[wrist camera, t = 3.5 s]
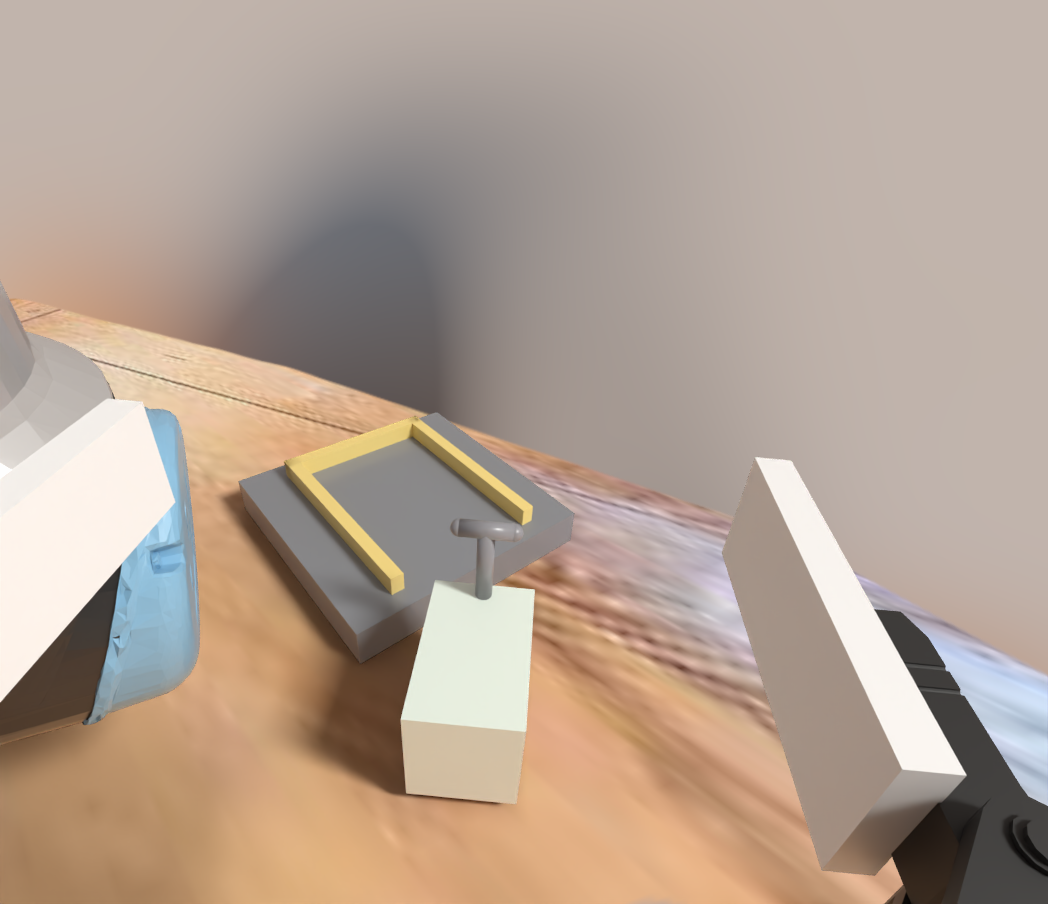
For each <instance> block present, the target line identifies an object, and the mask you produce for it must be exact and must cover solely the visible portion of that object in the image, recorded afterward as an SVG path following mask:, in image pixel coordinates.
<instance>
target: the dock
mask: <svg viewBox="0 0 1048 904" xmlns="http://www.w3.org/2000/svg"><path fill="white" fill-rule="evenodd" d="M284 463H285V465H284V466H281V467H278V468H275V469H272V470H270V471H267V472H264V473H261V474H258V475H255V476H252V477H250V478H247V479H244V480H241V481H238V482H239V486H240V490H241V494H242V498H243V502H244V506H245V509H246V511H247V512H248V513H249V515H250V516H251V517H252V519H253V520H254V521H255V523H256V524H257V525H258V527H259V528H260V529H261V531H262V532H263V534H264V535H265V536H266V538H267V539H268V540H269V542H270V543H271V544H272V546H273V547H274V548H275V550H276V551H277V552H278V554H279V555H280V556H281V558H282V559H283V560H284V562H285V563H286V565H287V566H288V567H289V569H290V570H291V571H292V573H293V574H294V575H295V577H296V578H297V579H298V581H299V582H300V583H301V585H302V586H303V587H304V589H305V590H306V591H307V593H308V594H309V596H310V597H311V598H312V600H313V601H314V602H315V604H316V605H317V606H318V608H319V609H320V610H321V612H322V613H323V614H324V616H325V617H326V618H327V620H328V621H329V622H330V624H331V625H332V627H333V628H334V629H335V631H336V632H337V633H338V635H339V636H340V637H341V639H342V640H343V641H344V643H345V644H346V645H347V647H348V648H349V649H350V651H351V652H352V653H353V655H354V656H355V658H356V659H357V660H358V662H359V663H360V664H361V663H363V662H365V661H366V660H368V659H370V658H371V657H373V656H375V655H377V654H378V653H380V652H382V651H383V650H385V649H387V648H388V647H390V646H392V645H393V644H395V643H397V642H399V641H400V640H402V639H404V638H405V637H407V636H409V635H410V634H412V633H414V632H415V631H417V630H419V629H421V628H422V627H424V623H425V619H426V615H427V611H428V607H429V603H430V599H431V595H432V591H433V587H434V583H435V580H440V581H450V582H461V583H471V584H475V583H476V557H477V539H476V538H466V537H457V536H454V535H453V534H452V533H451V530H450V525H451V523H452V521H453V520H455V519H458V518H462V519H472V520H483V521H493V522H504V523H514V524H518V525H520V526H521V527H522V529H523V537H522V539H521V540H519V541H517V542H507V541H497V540H495V554H494V570H493V585H495V584H497V583H498V582H500V581H502V580H503V579H505V578H507V577H509V576H510V575H512V574H514V573H515V572H517V571H519V570H520V569H522V568H524V567H525V566H527V565H529V564H531V563H532V562H534V561H536V560H537V559H539V558H541V557H542V556H544V555H546V554H547V553H549V552H551V551H553V550H554V549H556V548H558V547H559V546H561V545H563V544H564V543H566V542H568V541H569V540H570V538H571V532H572V526H573V519H574V513H573V512H572V511H570V510H569V509H568V508H566V507H565V506H564V505H562V504H561V503H560V502H558V501H557V500H555V499H554V498H553V497H551V496H550V495H549V494H547V493H546V492H545V491H543V490H542V489H540V488H539V487H538V486H536V485H535V484H534V483H532V482H531V481H530V480H528V479H527V478H526V477H524V476H523V475H521V474H520V473H519V472H517V471H516V470H515V469H513V468H512V467H511V466H509V465H508V464H506V463H505V462H504V461H502V460H501V459H500V458H498V457H497V456H496V455H494V454H493V453H491V452H490V451H489V450H487V449H486V448H485V447H483V446H482V445H481V444H479V443H478V442H477V441H475V440H474V439H472V438H471V437H470V436H468V435H467V434H466V433H464V432H463V431H462V430H460V429H459V428H457V427H456V426H455V425H453V424H452V423H451V422H449V421H448V420H447V419H445V418H444V417H442V416H441V415H440V414H438V413H437V412H436V413H433V414H430V415H427V416H424V417H422V418H418V417H416V416H414V417H411V418H408V419H405V420H402V421H399V422H396V423H393V424H390V425H388V426H385V427H382V428H379V429H376V430H373V431H370V432H367V433H364V434H361V435H359V436H356V437H353V438H350V439H347V440H344V441H341V442H338V443H335V444H332V445H330V446H327V447H324V448H321V449H318V450H315V451H312V452H309V453H306V454H303V455H300V456H298V457H295V458H292V459H289V460H286V461H284Z"/></svg>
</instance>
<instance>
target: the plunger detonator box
mask: <svg viewBox="0 0 1048 904" xmlns="http://www.w3.org/2000/svg"><path fill="white" fill-rule="evenodd" d="M450 530H451V533H452V534H453V535H454V536H457V537H466V538H476V539H477V557H476V583H475V584H471V583H461V582H450V581H440V580H435V583H434V587H433V591H432V595H431V599H430V603H429V607H428V611H427V615H426V619H425V623H424V627H423V631H422V635H421V639H420V643H419V647H418V651H417V655H416V659H415V663H414V667H413V671H412V675H411V680H410V684H409V688H408V692H407V696H406V700H405V704H404V708H403V712H402V716H401V732H402V745H403V758H404V771H405V785H406V793H408V794H419V795H429V796H439V797H449V798H459V799H469V800H479V801H489V802H499V803H509V804H516V803H517V796H518V789H519V781H520V774H521V766H522V759H523V751H524V744H525V737H526V726H527V709H528V692H529V676H530V659H531V642H532V626H533V609H534V592H535V590H533V589H523V588H512V587H502V586H493V570H494V554H495V540H497V541H507V542H517V541H519V540H521V539H522V537H523V529H522V527H521V526H520V525H518V524H514V523H504V522H493V521H483V520H472V519H462V518H458V519H455V520H453V521H452V523H451V525H450Z"/></svg>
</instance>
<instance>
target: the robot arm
mask: <svg viewBox="0 0 1048 904" xmlns="http://www.w3.org/2000/svg"><path fill="white" fill-rule="evenodd" d="M722 555H723V558H724V561H725V564H726V567H727V571H728V574H729V577H730V580H731V583H732V587H733V590H734V593H735V596H736V599H737V602H738V606H739V609H740V612H741V615H742V618H743V622H744V625H745V628H746V631H747V634H748V637H749V641H750V644H751V647H752V650H753V653H754V657H755V660H756V663H757V666H758V669H759V672H760V676H761V679H762V682H763V685H764V688H765V692H766V695H767V698H768V701H769V704H770V707H771V711H772V714H773V717H774V720H775V723H776V727H777V730H778V733H779V736H780V739H781V742H782V746H783V749H784V752H785V755H786V758H787V762H788V765H789V768H790V771H791V774H792V777H793V781H794V784H795V787H796V790H797V793H798V797H799V800H800V803H801V806H802V809H803V812H804V816H805V819H806V822H807V825H808V828H809V832H810V835H811V838H812V841H813V844H814V847H815V851H816V854H817V857H818V860H819V863H820V867H821V870H822V871H833V872H843V873H853V874H863V875H874V876H875V875H876V874H877V872H878V871H879V870H880V869H881V868H882V867H883V866H884V865H885V864H886V863H887V862H888V861H889V859H890V858H891V857H893V860H894V862H895V865H896V867H897V870H898V872H899V875H900V877H901V879H902V882H903V884H904V885H903V886H902V887H901V888H900V889H899V890H898V891H897V892H896V893H895V894H894V895H893V896H892V897H891V898H890V899H889V900H888V901H887V902H886V903H885V904H1048V806H1046V805H1044V804H1042V803H1040V802H1038V801H1036V800H1034V799H1032V798H1030V797H1028V795H1027V794H1026V793H1025V791H1024V790H1023V789H1022V787H1021V786H1020V784H1019V783H1018V781H1017V779H1016V778H1015V776H1014V775H1013V773H1012V771H1011V770H1010V768H1009V767H1008V765H1007V763H1006V762H1005V760H1004V759H1003V757H1002V755H1001V754H1000V752H999V751H998V749H997V747H996V746H995V744H994V742H993V741H992V739H991V738H990V736H989V734H988V733H987V731H986V730H985V728H984V726H983V725H982V723H981V722H980V720H979V718H978V717H977V715H976V714H975V712H974V710H973V709H972V707H971V706H970V704H969V702H968V701H967V699H966V698H965V696H962V695H961V694H960V688H959V686H958V685H957V683H956V682H955V680H954V678H953V677H952V675H951V673H950V672H948V671H946V670H945V667H946V665H945V664H944V662H943V661H942V659H941V657H940V656H939V654H938V653H937V651H936V649H935V648H934V646H933V645H932V643H931V641H930V640H929V638H928V637H927V636H926V635H925V634H924V633H923V632H922V631H921V630H920V629H919V628H917V627H916V626H915V625H914V624H913V623H912V622H911V621H910V620H909V619H908V618H907V617H906V616H905V615H904V614H902V613H901V612H897V611H887V610H876V609H874V608H873V607H872V605H871V603H870V601H869V599H868V598H867V596H866V594H865V592H864V590H863V589H862V587H861V585H860V583H859V581H858V580H857V578H856V576H855V574H854V572H853V571H852V569H851V567H850V565H849V563H848V562H847V560H846V558H845V556H844V555H843V553H842V551H841V549H840V547H839V546H838V544H837V542H836V540H835V538H834V537H833V535H832V533H831V531H830V529H829V528H828V526H827V524H826V522H825V520H824V519H823V517H822V515H821V513H820V512H819V510H818V508H817V506H816V504H815V502H814V501H813V499H812V497H811V495H810V493H809V492H808V490H807V488H806V486H805V485H804V483H803V481H802V479H801V477H800V476H799V474H798V472H797V470H796V469H795V467H794V465H793V463H792V461H790V460H779V459H768V458H757V457H755V459H754V462H753V465H752V468H751V470H750V473H749V476H748V479H747V482H746V485H745V488H744V491H743V493H742V496H741V499H740V502H739V505H738V508H737V511H736V514H735V516H734V519H733V522H732V525H731V528H730V531H729V534H728V537H727V540H726V542H725V545H724V548H723V551H722ZM199 647H200V618H199V595H198V578H197V564H196V551H195V539H194V527H193V516H192V507H191V497H190V487H189V478H188V469H187V461H186V454H185V447H184V440H183V435H182V430H181V427H180V425H179V422H178V420H177V418H176V416H175V415H173V414H172V413H171V412H170V411H167V410H164V409H148V408H147V407H144V405H143V402H140V401H129V400H118V399H115V397H114V395H113V393H112V390H111V388H110V386H109V383H108V382H107V380H106V378H105V376H104V375H103V373H102V371H101V370H100V369H99V368H98V367H97V365H96V364H95V363H94V362H93V361H92V360H91V359H89V358H88V357H86V356H85V355H83V354H82V353H80V352H79V351H77V350H75V349H73V348H71V347H69V346H67V345H65V344H63V343H60V342H57V341H55V340H52V339H49V338H46V337H43V336H39V335H36V334H33V333H29V332H26V331H25V330H24V328H23V326H22V324H21V322H20V320H19V318H18V316H17V314H16V312H15V310H14V308H13V306H12V304H11V302H10V300H9V298H8V296H7V294H6V292H5V290H4V288H3V286H2V284H1V281H0V745H2V744H6V743H9V742H13V741H16V740H20V739H23V738H27V737H31V736H34V735H38V734H42V733H45V732H49V731H52V730H56V729H60V728H63V727H67V726H70V725H74V724H78V723H81V722H82V723H83V724H84V725H89V724H93V723H96V722H98V721H100V720H101V719H103V718H104V717H105V715H106V714H108V713H111V712H114V711H117V710H120V709H123V708H126V707H129V706H132V705H135V704H137V703H140V702H143V701H146V700H149V699H152V698H155V697H158V696H161V695H164V694H166V693H168V692H170V691H172V690H173V689H175V688H176V687H177V686H179V685H180V684H181V683H182V682H183V681H184V680H185V679H186V678H187V677H188V676H189V674H190V673H191V671H192V670H193V668H194V666H195V664H196V661H197V658H198V654H199Z"/></svg>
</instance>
